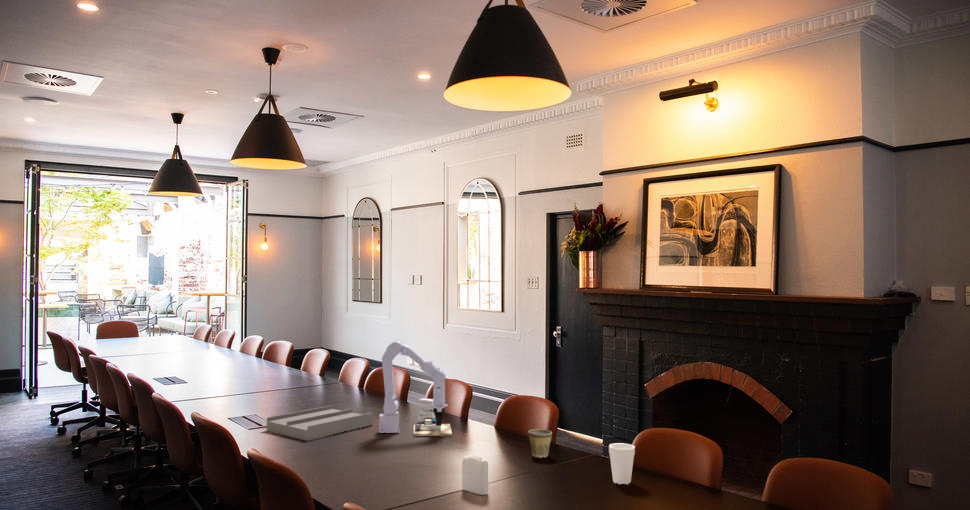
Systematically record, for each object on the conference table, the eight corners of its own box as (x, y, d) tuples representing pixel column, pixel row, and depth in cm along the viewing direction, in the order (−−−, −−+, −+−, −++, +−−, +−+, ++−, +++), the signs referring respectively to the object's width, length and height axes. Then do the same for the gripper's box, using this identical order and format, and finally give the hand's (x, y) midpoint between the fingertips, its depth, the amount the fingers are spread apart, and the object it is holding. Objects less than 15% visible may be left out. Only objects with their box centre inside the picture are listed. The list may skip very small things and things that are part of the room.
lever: (414, 430, 309) (415, 418, 309) (414, 429, 312) (414, 417, 312) (441, 429, 311) (441, 417, 311) (441, 428, 314) (441, 416, 314)
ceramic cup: (550, 459, 267) (550, 435, 267) (526, 458, 269) (526, 433, 269) (553, 451, 279) (553, 428, 280) (530, 450, 281) (531, 427, 282)
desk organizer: (266, 431, 313) (266, 417, 313) (331, 418, 345) (331, 405, 345) (308, 441, 294) (308, 426, 294) (372, 426, 326) (372, 412, 327)
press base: (413, 436, 303) (413, 425, 304) (413, 427, 323) (414, 416, 323) (451, 436, 305) (451, 424, 305) (449, 426, 325) (449, 415, 325)
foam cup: (616, 476, 244) (616, 441, 245) (639, 481, 238) (639, 445, 239) (604, 482, 237) (604, 446, 237) (627, 487, 231) (627, 451, 232)
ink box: (436, 422, 336) (437, 399, 336) (431, 424, 331) (431, 400, 332) (423, 420, 340) (424, 397, 340) (418, 422, 336) (418, 399, 336)
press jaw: (425, 427, 315) (425, 420, 315) (425, 426, 318) (425, 419, 318) (431, 427, 315) (431, 420, 315) (431, 426, 318) (431, 419, 318)
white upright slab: (460, 489, 227) (460, 454, 228) (468, 487, 230) (469, 452, 231) (481, 496, 220) (481, 460, 220) (490, 493, 223) (490, 457, 224)
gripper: (448, 398, 305) (447, 427, 305) (446, 393, 320) (446, 420, 319) (433, 398, 305) (432, 427, 304) (432, 393, 319) (432, 420, 319)
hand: (438, 424), depth 312 cm, fingers open, 4 cm apart
